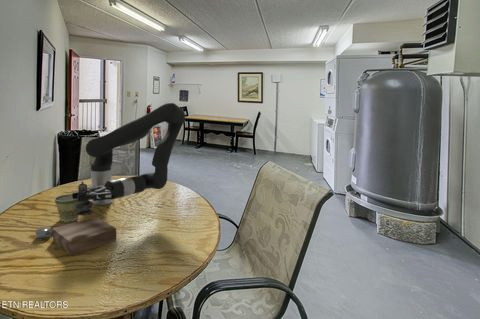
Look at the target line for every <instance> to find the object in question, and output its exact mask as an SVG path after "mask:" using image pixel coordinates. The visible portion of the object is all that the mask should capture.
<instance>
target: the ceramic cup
mask: <svg viewBox="0 0 480 319" xmlns="http://www.w3.org/2000/svg"><path fill="white" fill-rule="evenodd" d="M77 202H78V201H77V199H73V198H72V193H68V194H67V193H66V194H61V195H57V196H56V197H54V203H55V206H56V208H57V211H58V212H57V213H58V215H59V219H60V221H61V222H63V221H64V222H63V223H69V222H70V221H71V222H75V221H78V220H79V215H77V214H76V213H77V212H78V211H79V210H77V208H76V206H75V204H76V203H77ZM71 222H70V223H71Z"/></svg>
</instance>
